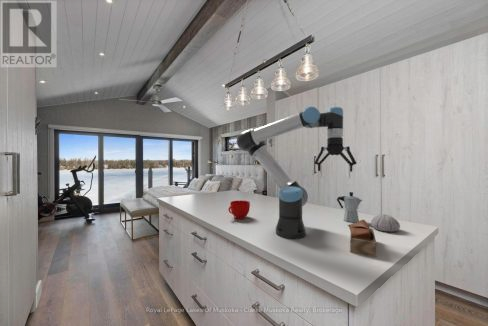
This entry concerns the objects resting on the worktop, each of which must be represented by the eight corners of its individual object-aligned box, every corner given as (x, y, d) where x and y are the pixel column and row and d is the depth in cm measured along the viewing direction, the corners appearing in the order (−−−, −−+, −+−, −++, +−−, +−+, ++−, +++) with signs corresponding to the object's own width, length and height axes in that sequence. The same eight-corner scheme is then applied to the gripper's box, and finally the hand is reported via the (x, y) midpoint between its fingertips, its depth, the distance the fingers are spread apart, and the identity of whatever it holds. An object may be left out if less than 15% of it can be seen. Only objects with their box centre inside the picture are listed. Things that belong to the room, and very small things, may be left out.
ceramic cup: (221, 218, 134) (221, 203, 134) (239, 213, 147) (239, 199, 147) (236, 222, 125) (236, 206, 125) (253, 217, 138) (253, 202, 138)
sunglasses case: (346, 224, 103) (354, 213, 102) (360, 233, 101) (368, 222, 99) (350, 236, 86) (359, 224, 85) (367, 247, 84) (377, 234, 83)
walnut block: (350, 253, 86) (350, 238, 86) (351, 238, 102) (351, 225, 102) (376, 258, 81) (376, 242, 81) (372, 241, 98) (372, 228, 98)
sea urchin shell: (368, 229, 114) (368, 215, 114) (372, 224, 124) (373, 210, 124) (398, 235, 105) (399, 219, 105) (400, 229, 115) (400, 214, 115)
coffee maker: (364, 221, 129) (364, 192, 129) (360, 224, 123) (361, 194, 122) (338, 217, 139) (339, 190, 139) (334, 219, 132) (334, 191, 132)
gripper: (310, 137, 110) (310, 177, 110) (363, 136, 103) (362, 179, 103) (310, 138, 117) (309, 176, 117) (359, 137, 110) (359, 177, 111)
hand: (334, 177), depth 110 cm, fingers open, 13 cm apart
